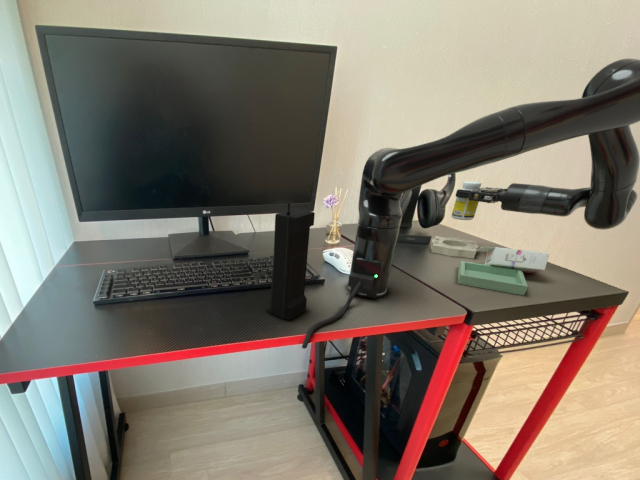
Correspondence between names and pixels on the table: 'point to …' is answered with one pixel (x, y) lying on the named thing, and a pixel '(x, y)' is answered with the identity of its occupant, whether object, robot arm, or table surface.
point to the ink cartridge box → (516, 259)
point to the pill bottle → (466, 203)
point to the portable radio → (290, 262)
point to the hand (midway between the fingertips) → (461, 191)
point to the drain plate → (454, 247)
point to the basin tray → (492, 277)
